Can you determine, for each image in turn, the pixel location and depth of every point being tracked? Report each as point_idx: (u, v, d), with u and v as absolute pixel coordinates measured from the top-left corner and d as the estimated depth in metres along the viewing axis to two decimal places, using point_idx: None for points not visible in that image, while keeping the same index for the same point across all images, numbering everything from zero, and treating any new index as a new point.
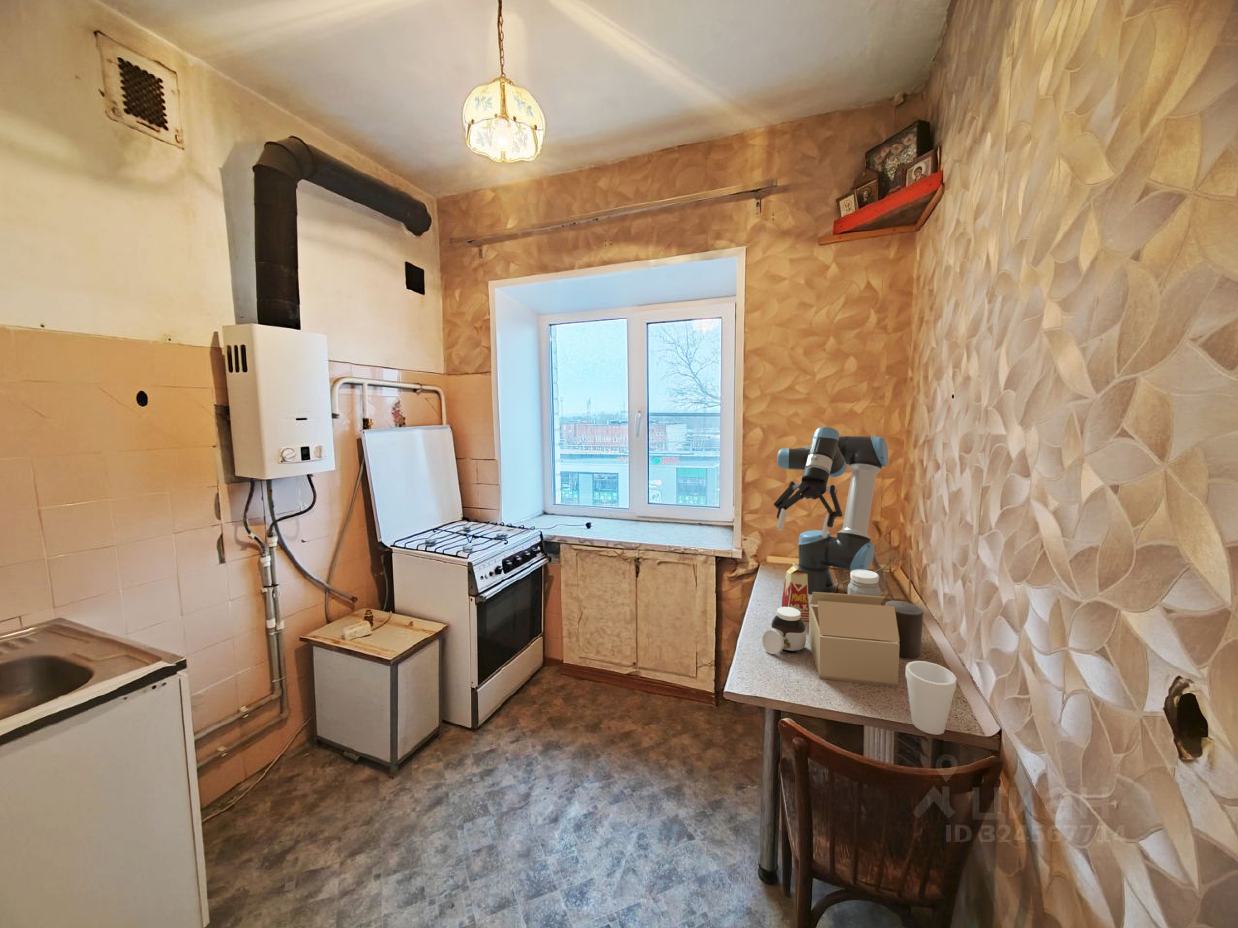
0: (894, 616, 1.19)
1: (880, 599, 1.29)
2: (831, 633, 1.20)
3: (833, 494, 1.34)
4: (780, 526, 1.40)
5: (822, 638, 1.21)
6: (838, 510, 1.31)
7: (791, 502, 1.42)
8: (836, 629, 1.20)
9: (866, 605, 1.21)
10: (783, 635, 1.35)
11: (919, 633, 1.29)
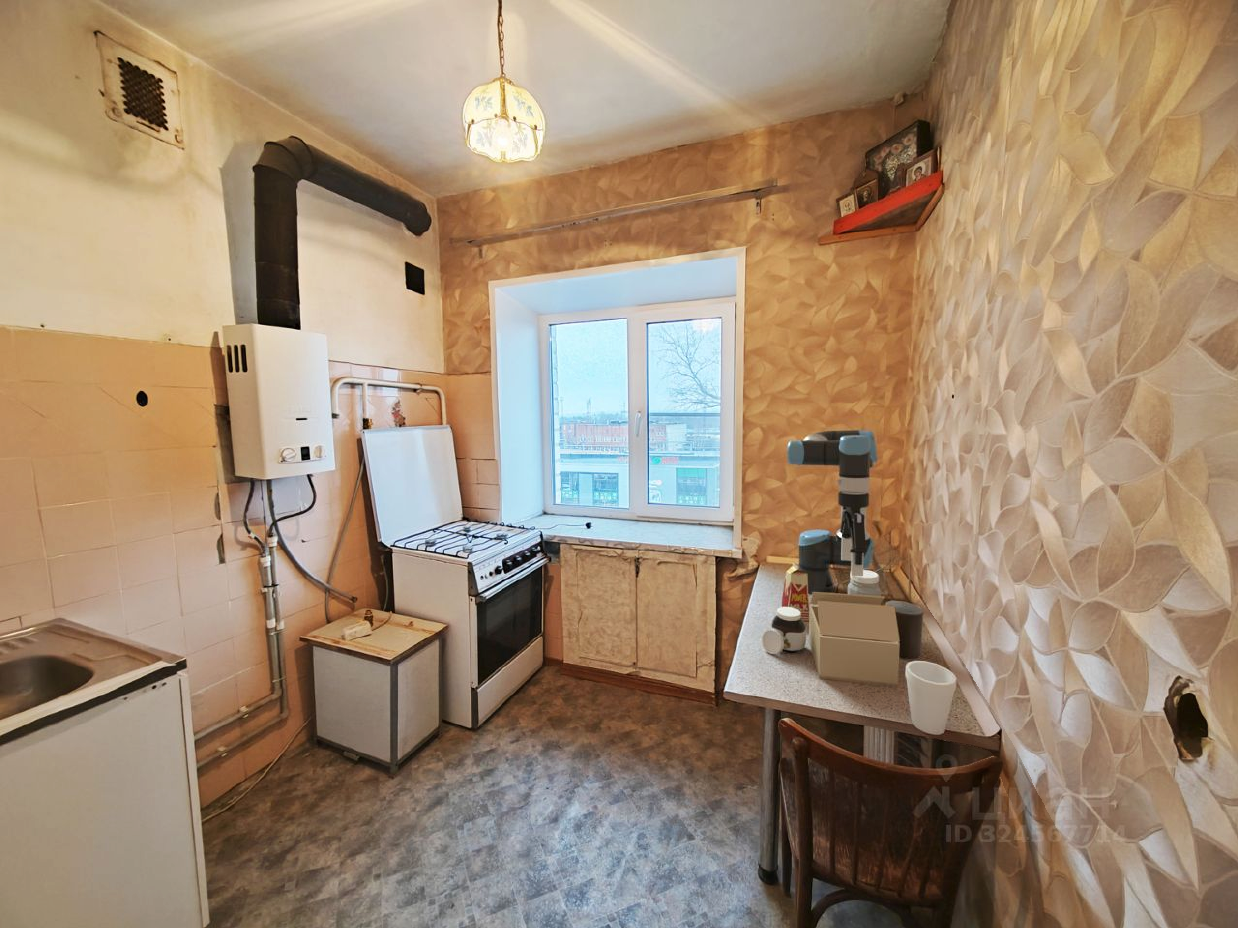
0: (894, 616, 1.19)
1: (880, 599, 1.29)
2: (831, 633, 1.20)
3: (854, 527, 1.18)
4: (846, 557, 1.31)
5: (822, 638, 1.21)
6: (855, 548, 1.16)
7: (847, 529, 1.29)
8: (836, 629, 1.20)
9: (866, 605, 1.21)
10: (783, 635, 1.35)
11: (919, 633, 1.29)
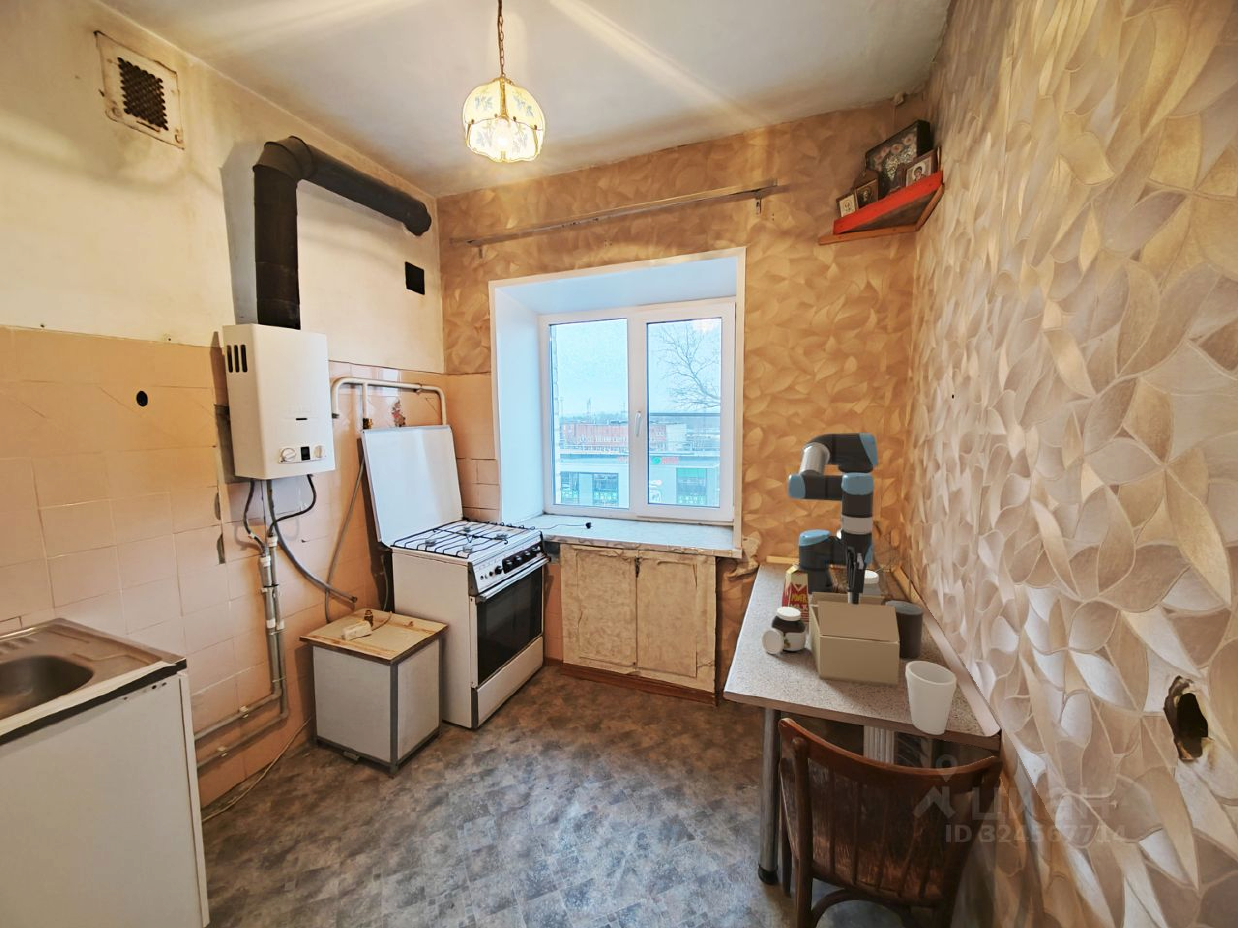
0: (894, 616, 1.19)
1: (880, 599, 1.29)
2: (831, 633, 1.20)
3: (854, 571, 1.18)
4: None
5: (822, 638, 1.21)
6: (852, 589, 1.20)
7: None
8: (836, 629, 1.20)
9: (866, 605, 1.21)
10: (783, 635, 1.35)
11: (919, 633, 1.29)
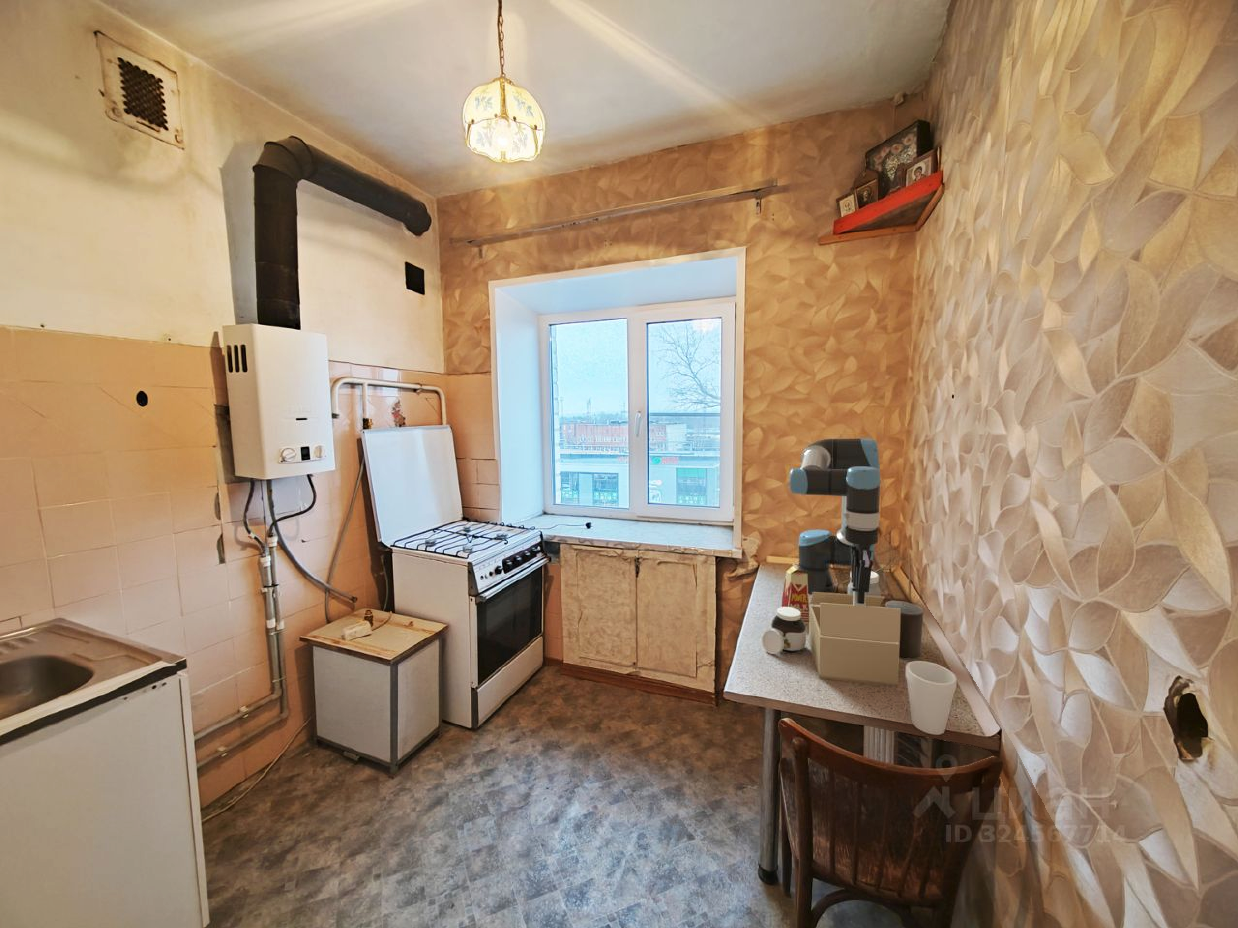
0: (899, 619, 1.15)
1: (880, 599, 1.29)
2: (831, 634, 1.20)
3: (860, 570, 1.13)
4: None
5: (822, 638, 1.21)
6: (857, 588, 1.15)
7: None
8: (837, 630, 1.20)
9: (870, 608, 1.17)
10: (783, 635, 1.35)
11: (919, 633, 1.29)
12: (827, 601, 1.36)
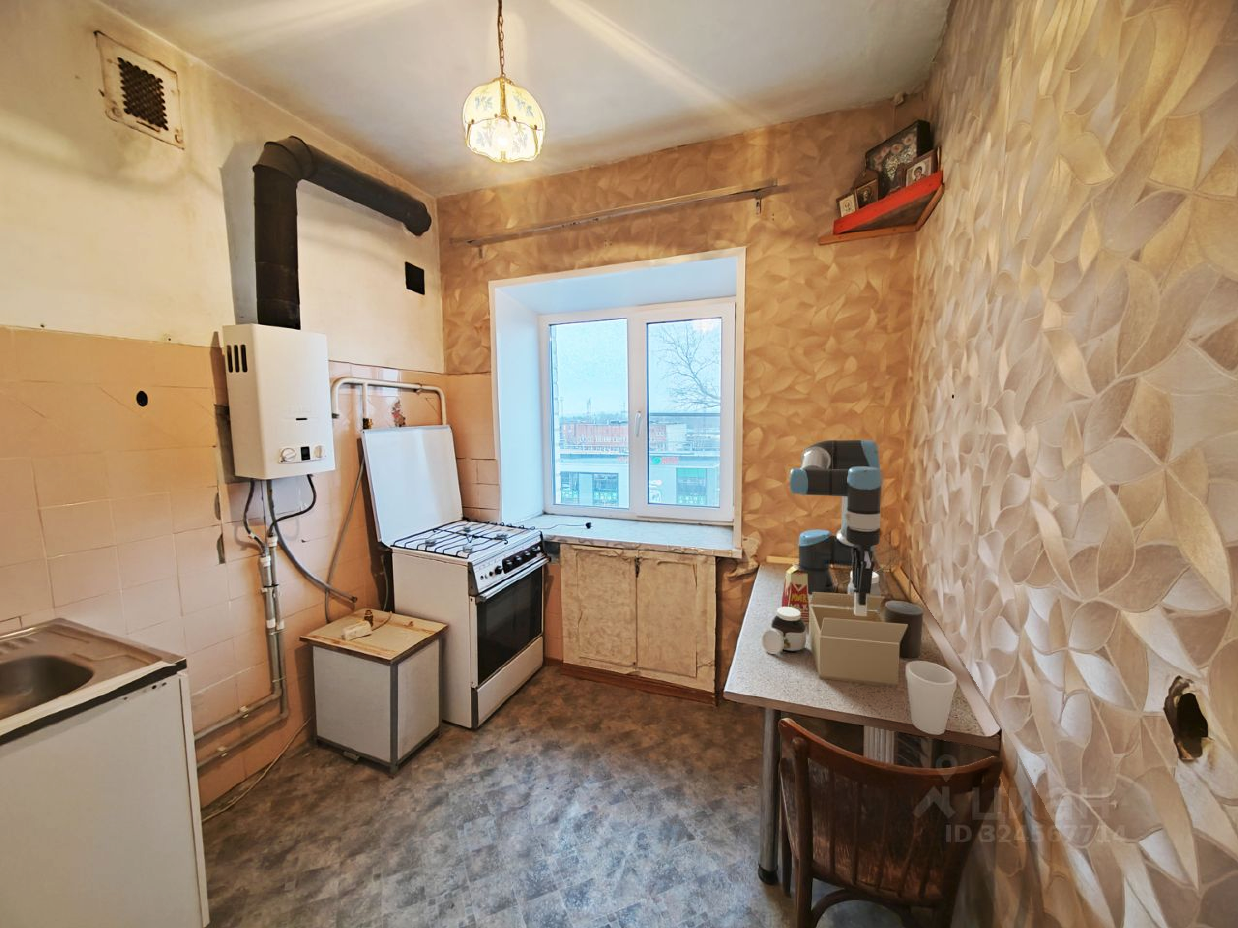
0: (903, 631, 1.12)
1: (880, 599, 1.29)
2: (831, 635, 1.20)
3: (861, 571, 1.11)
4: None
5: (822, 638, 1.21)
6: (859, 589, 1.13)
7: None
8: (837, 634, 1.19)
9: (876, 623, 1.12)
10: (783, 635, 1.35)
11: (919, 633, 1.29)
12: (827, 601, 1.36)
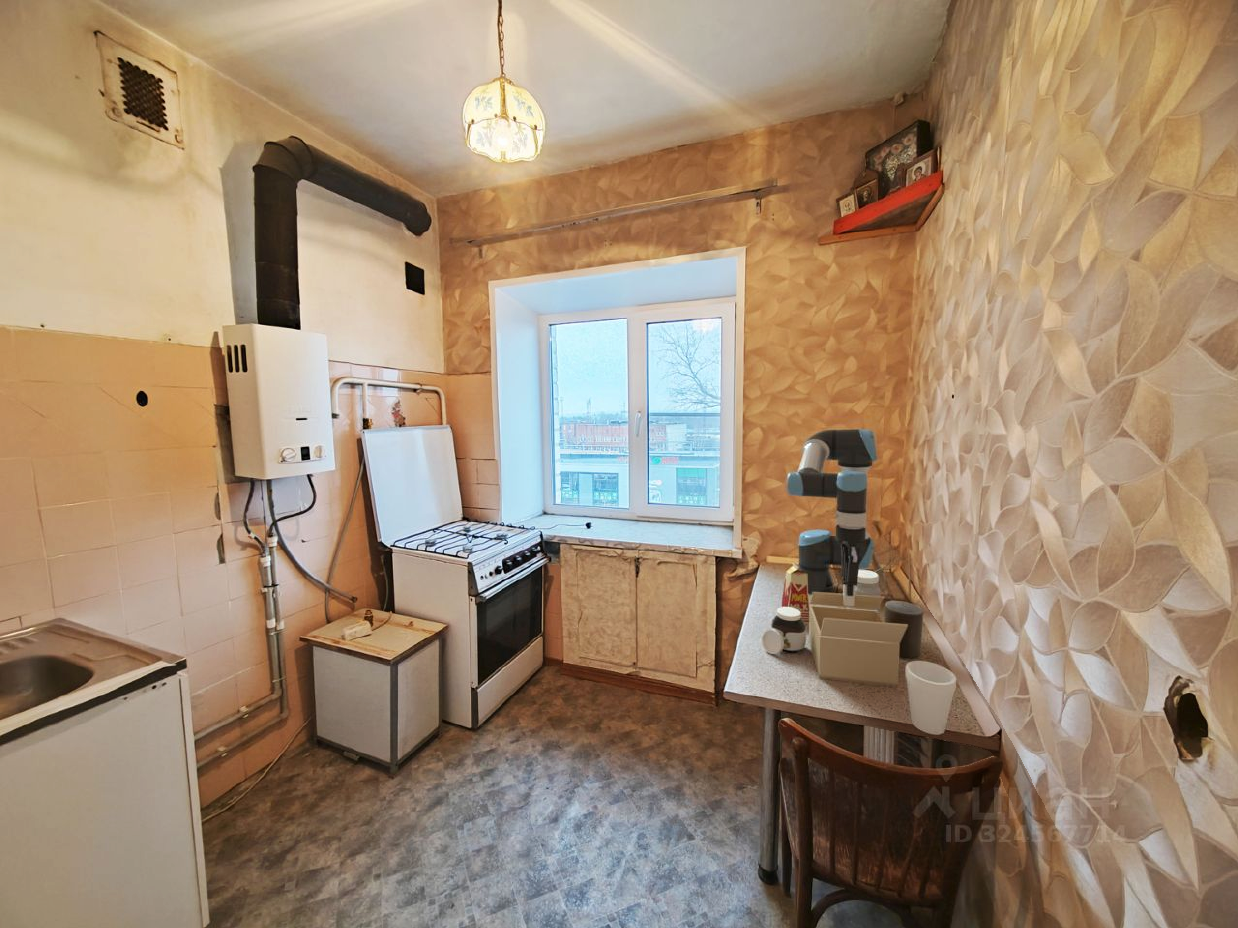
0: (903, 631, 1.12)
1: (880, 599, 1.29)
2: (831, 636, 1.20)
3: (849, 564, 1.24)
4: None
5: (822, 638, 1.21)
6: (847, 581, 1.26)
7: None
8: (837, 634, 1.19)
9: (876, 624, 1.12)
10: (783, 635, 1.35)
11: (919, 633, 1.29)
12: (827, 601, 1.36)
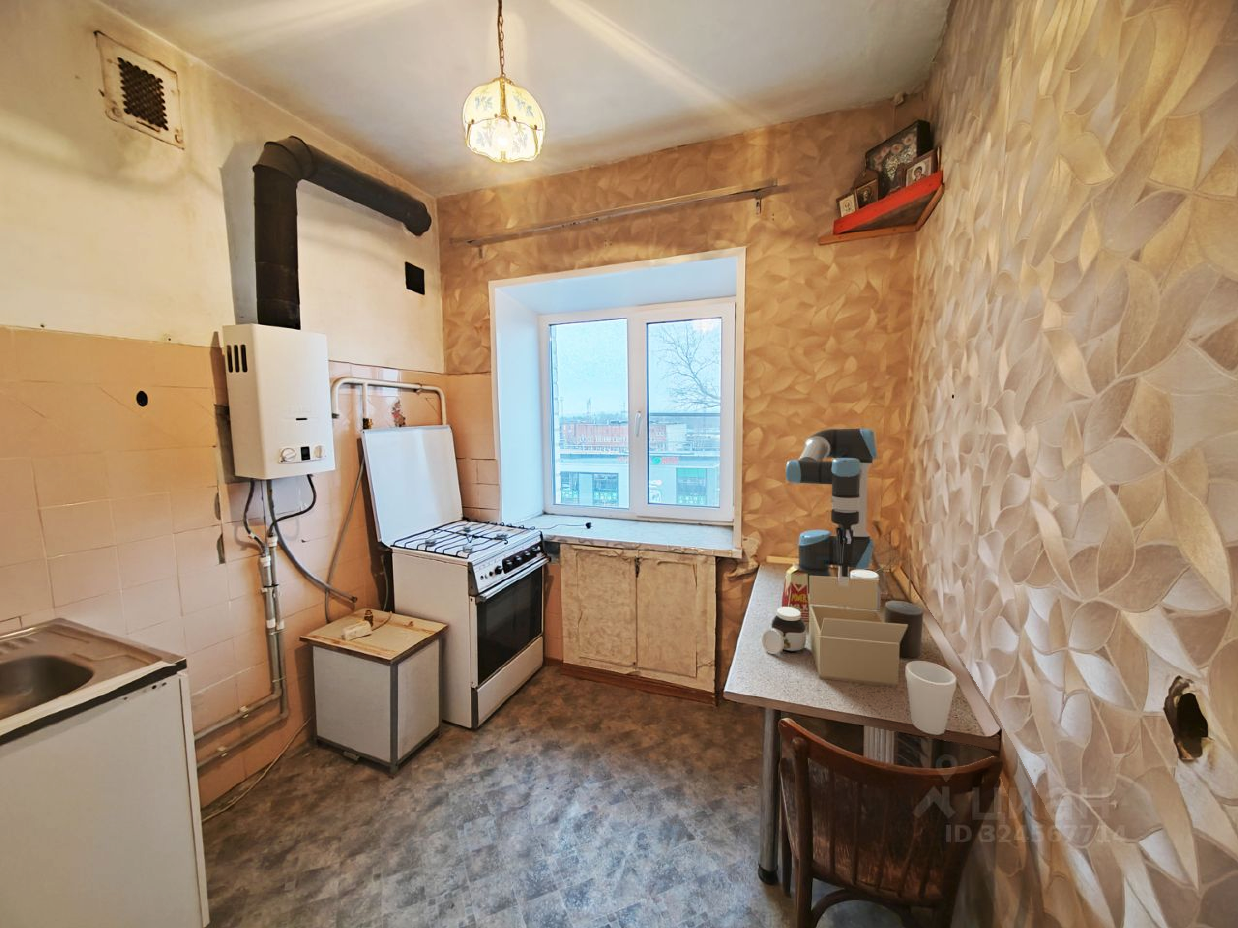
0: (903, 631, 1.12)
1: (874, 583, 1.35)
2: (831, 636, 1.20)
3: (843, 546, 1.31)
4: None
5: (822, 638, 1.21)
6: (841, 563, 1.33)
7: None
8: (837, 634, 1.19)
9: (876, 624, 1.12)
10: (783, 635, 1.35)
11: (919, 633, 1.29)
12: (826, 595, 1.38)
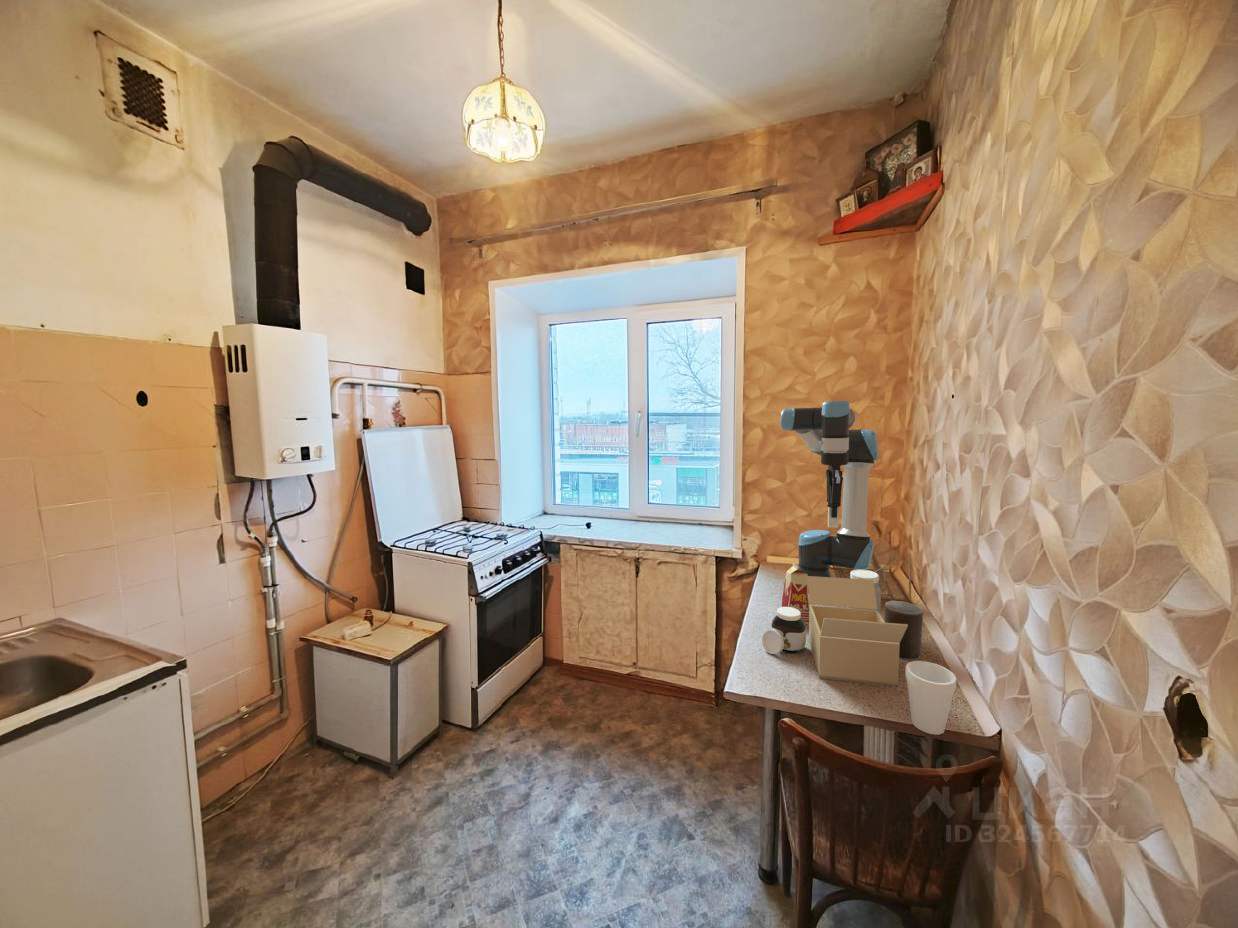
0: (903, 631, 1.12)
1: (871, 583, 1.38)
2: (831, 636, 1.20)
3: (832, 486, 1.33)
4: None
5: (822, 638, 1.21)
6: (831, 503, 1.35)
7: None
8: (837, 634, 1.19)
9: (876, 624, 1.12)
10: (783, 635, 1.35)
11: (919, 633, 1.29)
12: (825, 594, 1.40)
